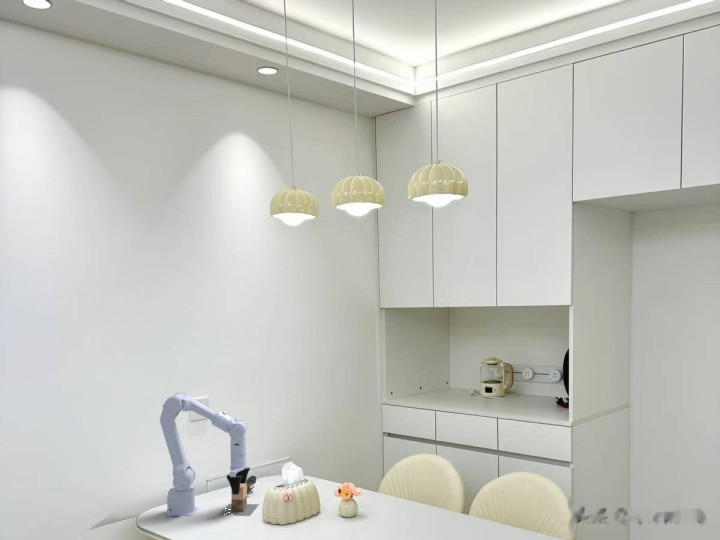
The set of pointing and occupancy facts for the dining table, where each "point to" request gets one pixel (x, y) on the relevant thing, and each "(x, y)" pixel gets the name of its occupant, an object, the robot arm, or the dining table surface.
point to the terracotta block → (240, 492)
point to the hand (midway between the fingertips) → (238, 490)
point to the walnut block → (238, 505)
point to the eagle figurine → (250, 483)
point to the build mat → (247, 512)
